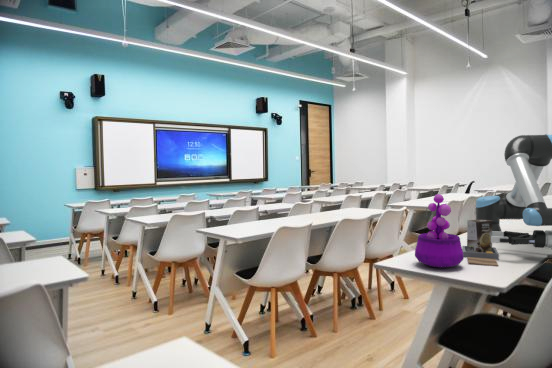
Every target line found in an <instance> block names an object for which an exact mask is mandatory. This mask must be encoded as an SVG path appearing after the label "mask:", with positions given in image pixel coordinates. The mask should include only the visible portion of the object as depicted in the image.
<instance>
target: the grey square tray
mask: <svg viewBox="0 0 552 368" xmlns="http://www.w3.org/2000/svg"><path fill="white" fill-rule="evenodd" d="M461 247H462V250H463V257H464V258H466V257H475V258H490V259H496V261H498V260H499V257H500V254H499V251H498V250H497V248H496V247H493V246H492V252H487V251H486V253H482V252H467V245H461Z"/></svg>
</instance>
